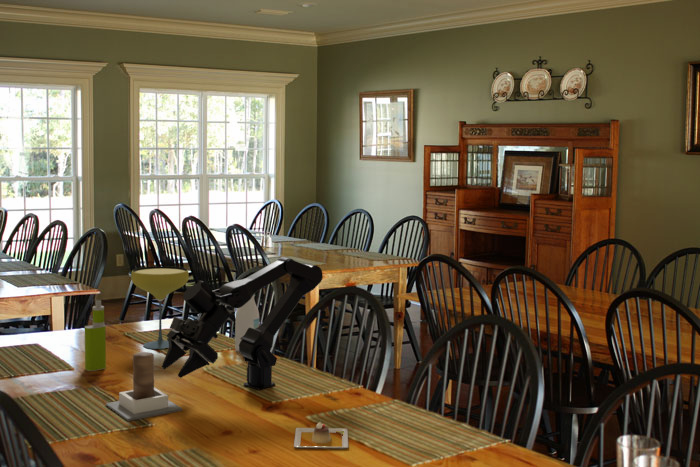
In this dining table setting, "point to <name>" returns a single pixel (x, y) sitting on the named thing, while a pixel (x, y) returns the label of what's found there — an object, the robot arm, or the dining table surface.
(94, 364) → the vape
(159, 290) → the cocktail glass
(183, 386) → the dining table surface
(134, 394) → the plug
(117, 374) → the dining table surface
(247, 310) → the milk bottle
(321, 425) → the dessert
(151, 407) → the socket dock
